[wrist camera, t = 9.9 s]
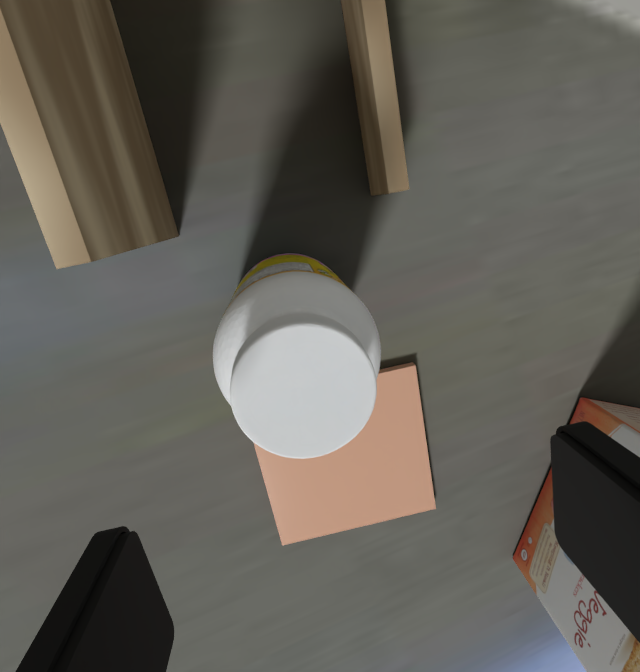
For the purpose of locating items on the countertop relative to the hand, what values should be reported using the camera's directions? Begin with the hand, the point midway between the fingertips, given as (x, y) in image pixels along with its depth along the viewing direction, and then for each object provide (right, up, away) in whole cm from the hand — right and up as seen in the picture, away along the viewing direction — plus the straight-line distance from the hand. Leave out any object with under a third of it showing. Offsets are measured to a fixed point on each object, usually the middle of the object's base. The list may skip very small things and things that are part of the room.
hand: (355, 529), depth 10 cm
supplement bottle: (-3, +6, +16) cm, 18 cm away
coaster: (+1, -4, +19) cm, 20 cm away
